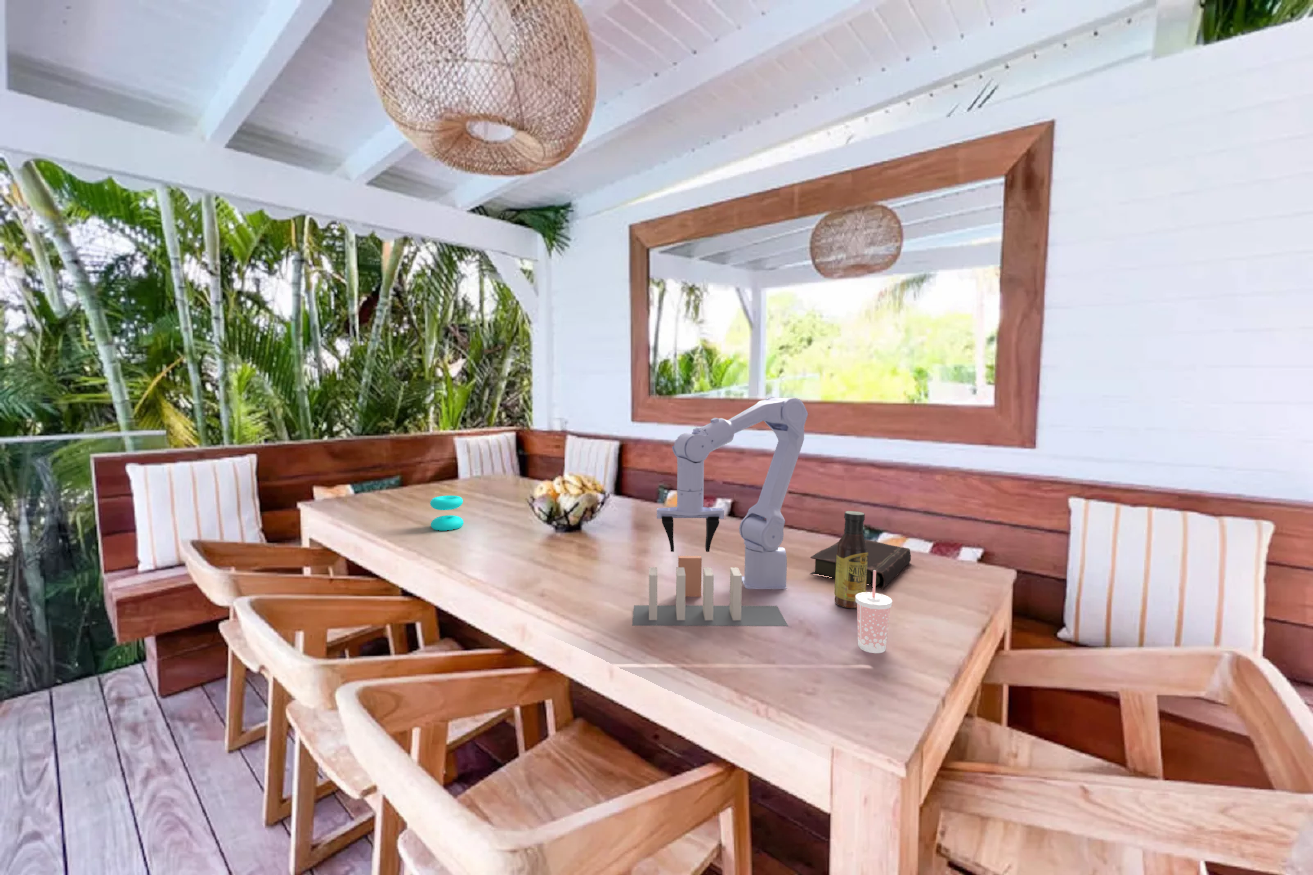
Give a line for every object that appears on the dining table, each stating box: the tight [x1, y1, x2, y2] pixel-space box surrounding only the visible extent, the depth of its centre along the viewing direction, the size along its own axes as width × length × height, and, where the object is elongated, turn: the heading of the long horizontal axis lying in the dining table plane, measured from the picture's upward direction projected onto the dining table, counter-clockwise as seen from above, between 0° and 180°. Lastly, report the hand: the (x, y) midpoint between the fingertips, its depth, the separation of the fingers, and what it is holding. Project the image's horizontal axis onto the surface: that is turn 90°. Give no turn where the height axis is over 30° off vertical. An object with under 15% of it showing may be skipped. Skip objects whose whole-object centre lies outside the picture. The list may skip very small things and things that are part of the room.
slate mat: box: [631, 604, 789, 627], centre depth 114 cm, size 30×10×1 cm, turn 90°
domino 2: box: [675, 567, 686, 620], centre depth 113 cm, size 2×5×9 cm, turn 0°
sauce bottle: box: [833, 510, 868, 609], centre depth 120 cm, size 6×6×20 cm
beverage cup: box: [855, 570, 893, 654], centre depth 100 cm, size 6×6×14 cm
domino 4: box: [729, 567, 743, 620], centre depth 114 cm, size 2×5×9 cm, turn 0°
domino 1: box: [648, 566, 658, 620], centre depth 113 cm, size 2×5×9 cm, turn 0°
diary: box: [810, 539, 912, 590], centre depth 145 cm, size 19×25×5 cm
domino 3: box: [702, 567, 715, 620], centre depth 113 cm, size 2×5×9 cm, turn 0°
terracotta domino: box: [677, 555, 703, 598], centre depth 124 cm, size 2×5×9 cm, turn 90°
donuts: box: [429, 495, 464, 532], centre depth 184 cm, size 10×10×10 cm
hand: (689, 550), depth 124 cm, fingers open, 7 cm apart
